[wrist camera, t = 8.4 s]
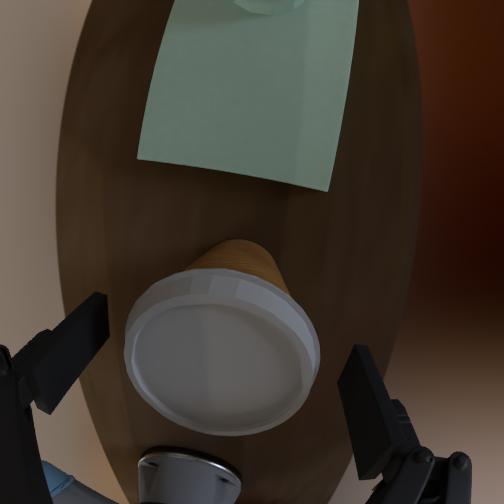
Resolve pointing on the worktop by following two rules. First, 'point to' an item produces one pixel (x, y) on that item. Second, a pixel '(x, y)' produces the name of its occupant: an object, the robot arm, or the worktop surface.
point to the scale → (252, 87)
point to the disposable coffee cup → (222, 344)
